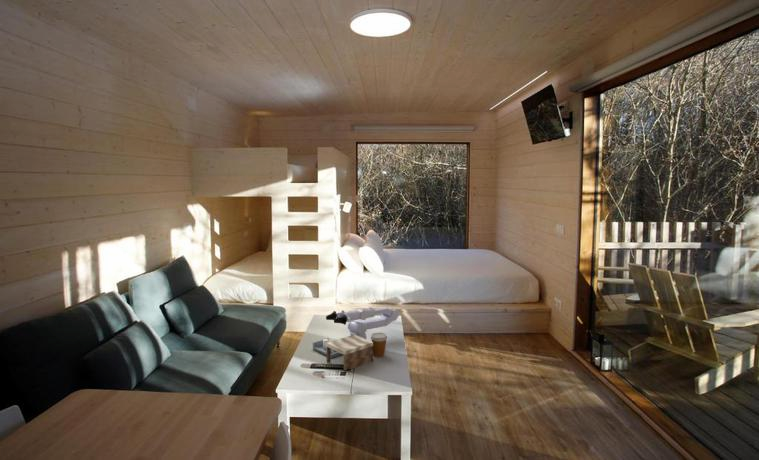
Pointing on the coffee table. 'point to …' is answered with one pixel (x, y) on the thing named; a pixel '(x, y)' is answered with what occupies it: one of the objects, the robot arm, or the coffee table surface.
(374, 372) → the coffee table surface
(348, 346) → the wooden slatted crate
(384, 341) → the disposable coffee cup
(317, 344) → the tray
